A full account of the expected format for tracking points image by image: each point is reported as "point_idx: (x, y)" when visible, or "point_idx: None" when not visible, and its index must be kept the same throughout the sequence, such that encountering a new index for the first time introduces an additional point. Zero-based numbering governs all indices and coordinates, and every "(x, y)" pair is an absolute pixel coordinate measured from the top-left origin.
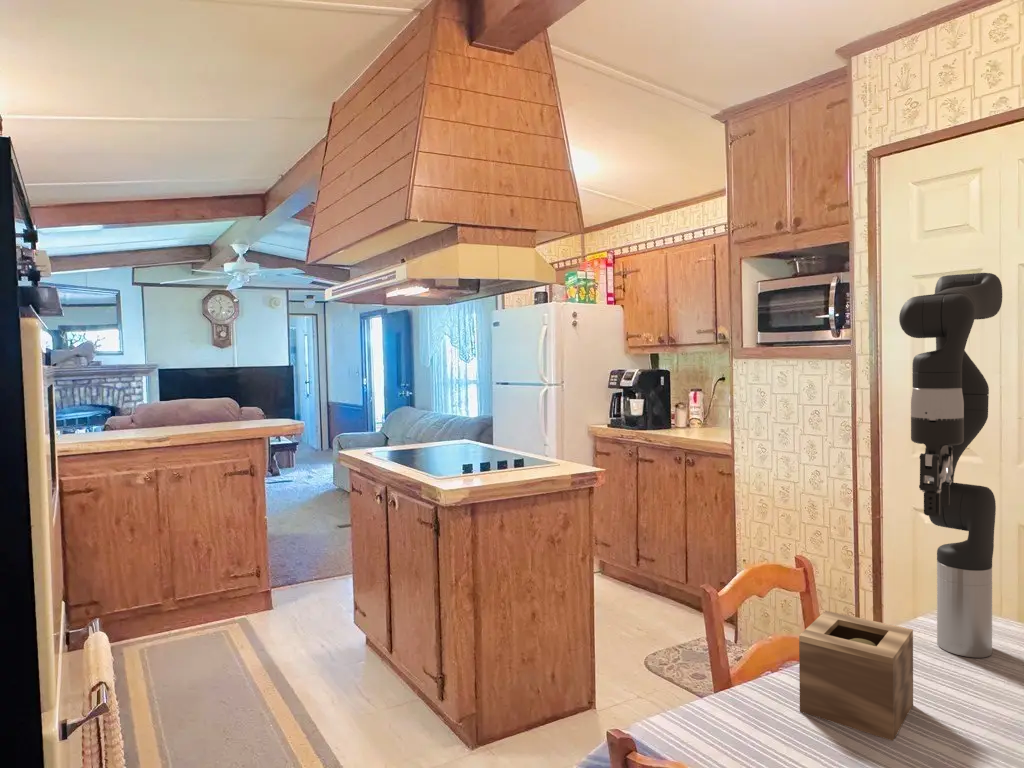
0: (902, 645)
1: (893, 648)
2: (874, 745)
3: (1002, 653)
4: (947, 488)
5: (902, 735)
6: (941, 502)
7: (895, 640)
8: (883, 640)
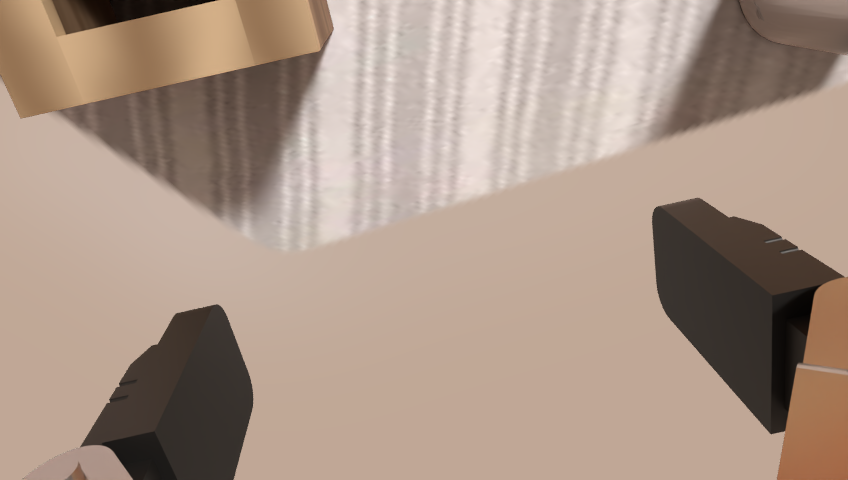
0: (156, 87)
1: (96, 83)
2: None
3: (829, 58)
4: (753, 401)
5: None
6: (673, 270)
7: (168, 56)
8: (129, 27)
